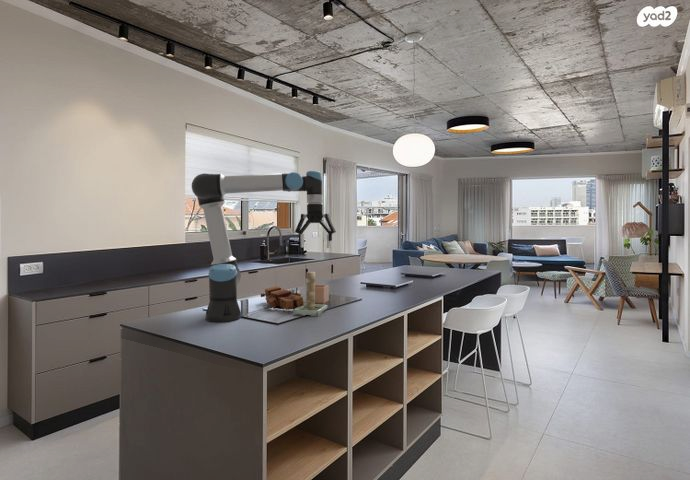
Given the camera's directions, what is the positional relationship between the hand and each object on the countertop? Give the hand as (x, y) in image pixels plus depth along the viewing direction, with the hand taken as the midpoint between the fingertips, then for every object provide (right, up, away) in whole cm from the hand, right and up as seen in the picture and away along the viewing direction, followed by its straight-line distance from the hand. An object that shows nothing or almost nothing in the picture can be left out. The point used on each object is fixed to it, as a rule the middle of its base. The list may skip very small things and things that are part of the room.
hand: (315, 247), depth 207 cm
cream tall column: (-2, -30, -6) cm, 30 cm away
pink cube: (+1, -29, +14) cm, 32 cm away
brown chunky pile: (-17, -29, +7) cm, 35 cm away
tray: (-2, -30, -6) cm, 31 cm away
